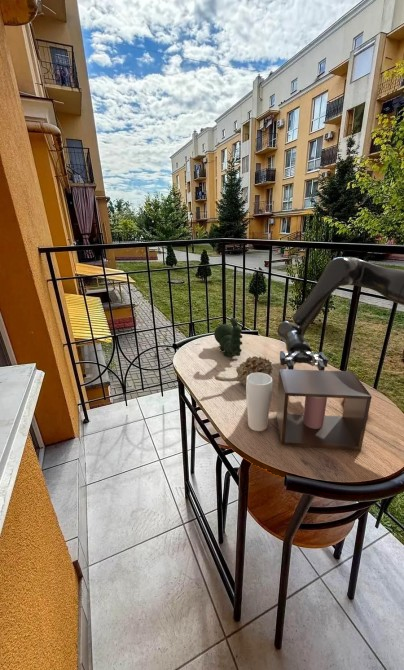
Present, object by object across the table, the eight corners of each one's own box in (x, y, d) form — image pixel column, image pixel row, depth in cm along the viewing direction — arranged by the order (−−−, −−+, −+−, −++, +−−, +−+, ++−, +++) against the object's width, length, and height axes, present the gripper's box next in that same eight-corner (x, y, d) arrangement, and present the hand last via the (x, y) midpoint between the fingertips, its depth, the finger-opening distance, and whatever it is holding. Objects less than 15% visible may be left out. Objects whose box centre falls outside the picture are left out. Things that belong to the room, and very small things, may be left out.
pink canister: (320, 417, 79) (324, 386, 75) (326, 429, 74) (330, 397, 70) (300, 416, 80) (304, 385, 76) (304, 428, 75) (308, 396, 71)
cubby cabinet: (344, 419, 79) (352, 371, 74) (361, 450, 68) (371, 396, 63) (276, 415, 82) (279, 369, 76) (281, 445, 71) (285, 392, 65)
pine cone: (262, 373, 106) (262, 349, 103) (277, 384, 98) (279, 359, 95) (209, 386, 99) (208, 361, 95) (221, 400, 90) (221, 373, 87)
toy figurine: (247, 363, 118) (228, 338, 140) (249, 322, 110) (229, 302, 132) (225, 366, 116) (210, 340, 138) (226, 324, 108) (210, 304, 130)
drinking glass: (273, 433, 75) (276, 383, 70) (248, 435, 75) (249, 385, 69) (265, 417, 81) (268, 371, 76) (242, 419, 81) (243, 373, 76)
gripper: (277, 337, 99) (283, 357, 84) (320, 338, 97) (333, 358, 82) (276, 356, 102) (281, 379, 87) (317, 358, 99) (330, 381, 84)
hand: (307, 369), depth 84 cm, fingers open, 8 cm apart
